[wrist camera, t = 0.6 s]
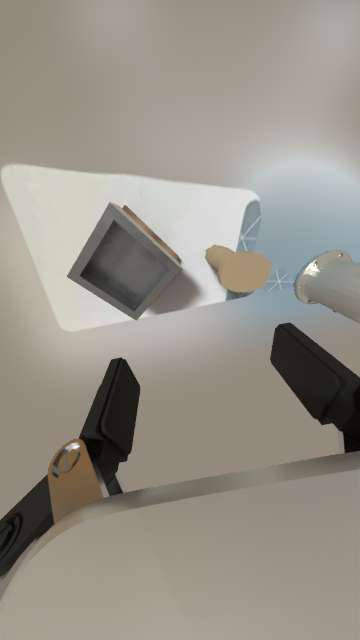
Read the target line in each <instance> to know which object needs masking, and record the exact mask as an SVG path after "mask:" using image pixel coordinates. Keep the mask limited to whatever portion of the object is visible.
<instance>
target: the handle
mask: <svg viewBox="0 0 360 640" xmlns="http://www.w3.org/2000/svg"><path fill="white" fill-rule="evenodd" d="M205 258H206V259H207V261H208V263H209V264H210V265H211V266H212V267H213V268H214V269H215V270H217V271H218V280H219V282H220V284H221V285H222V286H224V287H225V288H227V289H229V290H230V291H233V292H250V291H253V290H256V289H258V288H261V287H262V286H263V285H264V284H265V283H266V281H267V279H268V277H269V274H270V271H271V263H270V261H269V260H267V259H266V258H265V257H264V256H262V255H260V254H258V253H254V252H246V251H240V252H237V253H235V252H233V251H232V250H230V249H228V248H226V247H223V246H217V245H213V246H212V247H211V248H208V249H207V250H206V256H205Z"/></svg>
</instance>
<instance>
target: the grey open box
mask: <svg viewBox="0 0 360 640" xmlns="http://www.w3.org/2000/svg"><path fill="white" fill-rule="evenodd" d="M181 269H182V268H181V266H180V264H179V262H178V261H177V260H176V259H175V258H174V257H173V256H172V255H171V254H169V253H168V252H167V251H166V250H165V249H164V248H163V247H162V246H161V245H160V244H159V243H158V242H157V241H156V240H155V239H154V238H153V237H151V236H150V235H149V234H148V233H147V232H146V231H145V230H144V229H143V228H142V227H141V226H140V225H139V224H138V223H137V222H136V221H134V220H133V219H132V218H131V217H130V216H129V215H128V214H127V213H126V212H125V211H124V210H123V209H122V208H121V207H120V206H118V205H116V204H113V203H109V205H108V206H107V208H106V210H105V211H104V213H103V215H102V217H101V218H100V220H99V222H98V224H97V225H96V227H95V229H94V231H93V232H92V234H91V236H90V237H89V239H88V241H87V243H86V244H85V246H84V248H83V250H82V251H81V253H80V255H79V256H78V258H77V260H76V262H75V263H74V265H73V267H72V269H71V270H70V272H69V274H68V275H67V277H68V278H70V279H71V280H73V281H74V282H76V283H78V284H79V285H81V286H82V287H84V288H85V289H87V290H89V291H90V292H92V293H93V294H95V295H97V296H98V297H100V298H101V299H103V300H105V301H106V302H108V303H109V304H111V305H112V306H114V307H116V308H117V309H119V310H120V311H122V312H124V313H125V314H127V315H128V316H130V317H132V318H133V319H135V320H137V319H138V318H139V317H140V316H141V315H142V314H143V312H144V311H145V310H146V309H147V308H148V307H149V306H150V304H151V303H152V302H153V301H154V300H155V299H156V298H157V297H158V295H159V294H160V293H161V292H162V291H163V290H164V289H165V287H166V286H167V285H168V284H169V283H170V282H171V281H172V280H173V278H174V277H175V276H176V275H177V274H178V273H179V272H180V271H181Z"/></svg>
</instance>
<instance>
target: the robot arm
mask: <svg viewBox="0 0 360 640" xmlns="http://www.w3.org/2000/svg"><path fill="white" fill-rule="evenodd" d="M294 291H295V295H296V297H297V298H298V299H299V300H300V301H302V302H304V303H306V304H316V303H321V304H323V305H325V306H327V307H329V308H331V309H332V310H333V311H334V312H339V313H341V314H342V315H344V316H346V317H348V318H350V319H352V320H354V321H356V322H358V323H360V263H355V262H352V258H351V257H350V255H349V254H348V253H346V252H343V251H338V250H332V251H327V252H324V253H322V254H320V255H318V256H317V257H315V258H314V259H312V260H311V261H310V262H309V263H308V264H307V265H306V266H305V267H304V268H303V269H302V271H301V272H300V274H299V275H298V277H297V280H296V282H295V288H294ZM270 360H271V363H272V365H273V366H274V367H275V368H276V370H277V371H278V372H279V373H280V375H281V376H282V378H283V379H284V380H285V382H286V383H287V384H288V386H289V387H290V388H291V390H292V391H293V392H294V393H295V394H296V396H297V397H298V399H299V400H300V401H301V403H302V404H303V405H304V407H305V408H306V409H307V411H308V412H309V413H310V414H311V416H312V417H313V418H315V419H318V421H319V422H320V423H321V425H325V424H330V423H333V424H334V425H335V426H336V427H337V429H338V437H339V451H340V454H336V455H330V456H324V457H319V458H313V459H308V460H302V461H296V462H290V463H285V464H278V465H272V466H268V467H262V468H256V469H250V470H244V471H239V472H234V473H228V474H222V475H217V476H211V477H205V478H200V479H194V480H189V481H184V482H178V483H173V484H168V485H162V486H157V487H151V488H146V489H141V490H136V491H131V492H126V490H125V488H124V486H123V484H122V481H121V479H120V477H119V475H118V473H117V470H118V465H119V462H125V461H127V458H128V454H130V453H131V450H132V443H133V436H134V429H135V422H136V415H137V408H138V402H139V395H140V385H139V383H138V381H137V380H136V378H135V376H134V374H133V373H132V370H131V369H130V367H129V365H128V363H127V361H126V360H125V359H122V358H117V359H112V360H111V361H110V364H109V366H108V369H107V371H106V374H105V376H104V379H103V381H102V384H101V385H100V387H99V389H98V391H97V394H96V397H95V399H94V401H93V404H92V407H91V410H90V412H89V414H88V417H87V419H86V422H85V424H84V426H83V429H82V432H81V434H80V437H79V439H73V440H71V441H69V442H67V443H66V444H65V445H63V446H62V447H61V448H60V449H59V450H58V452H57V453H56V454H55V456H54V457H53V459H52V461H51V463H50V466H49V468H48V474H47V475H46V476H45V477H44V478H43V479H42V480H41V481H40V482H39V483H38V484H37V485H36V486H35V487H34V488H33V489H32V490H31V491H30V492H29V493H28V494H27V495H26V496H25V497H24V498H23V499H22V500H21V501H20V502H19V503H18V504H16V505H15V506H14V507H13V508H12V509H11V510H10V511H9V512H8V513H7V514H6V515H5V516H4V517H3V518H2V519H1V520H0V640H360V378H359V377H358V376H357V375H356V374H354V373H353V372H352V371H351V370H349V369H348V368H347V367H346V366H344V365H343V364H342V363H341V362H339V361H338V360H337V359H336V358H334V357H333V356H332V355H331V354H329V353H328V352H327V351H325V350H324V349H323V348H321V347H320V346H319V345H318V344H317V343H315V342H314V341H313V340H312V339H310V338H309V337H308V336H307V335H305V334H304V333H303V332H301V331H300V330H299V329H298V328H296V327H295V326H294V325H293V324H291V323H284V324H280V325H278V326H277V328H275V333H274V339H273V345H272V351H271V358H270Z"/></svg>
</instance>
